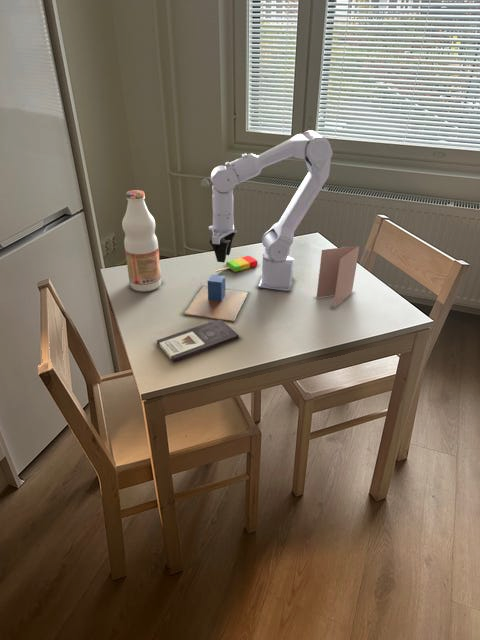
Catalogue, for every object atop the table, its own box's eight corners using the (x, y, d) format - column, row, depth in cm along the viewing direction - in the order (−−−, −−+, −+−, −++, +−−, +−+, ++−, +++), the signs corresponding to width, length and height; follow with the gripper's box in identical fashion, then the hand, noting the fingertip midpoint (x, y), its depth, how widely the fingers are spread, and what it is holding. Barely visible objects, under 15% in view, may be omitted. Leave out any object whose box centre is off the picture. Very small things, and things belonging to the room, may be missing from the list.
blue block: (225, 294, 132) (225, 276, 129) (221, 301, 128) (221, 282, 125) (212, 292, 133) (211, 274, 129) (208, 299, 129) (207, 280, 126)
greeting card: (350, 291, 135) (358, 244, 127) (363, 303, 129) (371, 254, 121) (315, 296, 132) (320, 248, 124) (326, 309, 126) (332, 259, 118)
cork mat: (248, 293, 133) (248, 292, 133) (234, 321, 120) (234, 320, 120) (202, 287, 136) (202, 286, 136) (184, 314, 123) (184, 313, 123)
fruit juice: (123, 288, 135) (109, 194, 120) (142, 275, 142) (131, 185, 127) (149, 295, 132) (139, 199, 117) (167, 281, 139) (159, 190, 124)
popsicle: (258, 265, 149) (258, 260, 148) (219, 277, 142) (219, 271, 141) (249, 259, 153) (249, 254, 152) (210, 270, 145) (210, 265, 144)
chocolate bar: (238, 335, 113) (173, 359, 105) (238, 338, 113) (173, 362, 105) (219, 318, 119) (156, 340, 111) (220, 321, 120) (157, 343, 111)
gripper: (216, 202, 131) (217, 246, 138) (200, 220, 119) (202, 267, 126) (240, 205, 129) (240, 249, 137) (226, 222, 117) (226, 270, 125)
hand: (223, 258), depth 131 cm, fingers open, 4 cm apart
